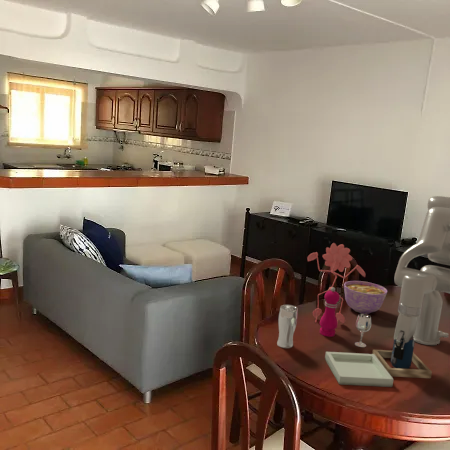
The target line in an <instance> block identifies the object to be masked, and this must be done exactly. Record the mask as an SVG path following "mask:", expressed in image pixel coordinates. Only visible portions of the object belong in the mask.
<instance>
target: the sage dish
mask: <svg viewBox="0 0 450 450" xmlns="http://www.w3.org/2000/svg"><path fill="white" fill-rule="evenodd" d="M324 360H325V362H326V364H327V365H328V367H329V369H330V371H331V373H332V374H333V375H334V378H335V379H336V381H337V383H338V385H344V386H345V385H346V386H347V385H348V386H364V387H365V386H366V387H384V388H385V387H386V388H392V387H393V386H394V385H393V383H394V378H393V376H391V375H390V374H389V373H388V371H387V370H386V369H385V368H384V366H383V365H382V364H381V362H380V361H379V360H378V359H377V357H376V356H375V355H374V354H372V353H360V352H359V353H358V352H357V353H356V352H341V351H339V352H337V351H325V355H324Z"/></svg>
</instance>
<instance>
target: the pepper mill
mask: <svg viewBox="0 0 450 450" xmlns="http://www.w3.org/2000/svg"><path fill="white" fill-rule="evenodd" d="M331 287H332V286H331ZM326 291H327V290H326ZM323 297H324V300H325V302H324V306H325V310H324V314H322V316H321V318H320V320H319V326H320V328H319V334H320V335H322V336H324V337H328V338H331V337H335V335H336V329H337V328H338V325H337V324H339V322H338V323H337V318H336V309H337V308H338V303H339V301H340V299H341V298H340V297H341V295H340V293H338V292H337V291H336V288H335V287H334V286H333V287H332V288H331V291H327V292H325V294H324V296H323Z"/></svg>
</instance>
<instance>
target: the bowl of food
mask: <svg viewBox="0 0 450 450" xmlns="http://www.w3.org/2000/svg"><path fill="white" fill-rule="evenodd" d="M343 290H344V291H343V292H344V299H345V301H346V304H347V306H348V307H350V309H352V310H353V311H354V312H357V313H359V314H366V315H369V314H371V313H374V312H375V313H376V312H377V311H379V310H380V309H381V308H382V306H383V303H384V301H385V298H386V296H387V293H388V289H387V288H385V287H384V286H382V285H380V284H376V283H372V282H368V281H361V280H350V281H345V282H344V284H343Z"/></svg>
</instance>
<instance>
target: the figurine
mask: <svg viewBox="0 0 450 450" xmlns="http://www.w3.org/2000/svg"><path fill="white" fill-rule="evenodd" d="M325 252H326V253H324V254H322V258H323V260H324V265H325V266H326V267H330V268H329V270H327V269H320V264H319V257H318V256H319V253H318V252H317V251H316V252H312V253H310V254H309V255H308V256H307V257H306V258H307V262H311V261H314V260H316V261H317V262H316V263H317V269H318V271H319V272H326V273H331V274H333V275H334V276H335V278H334V280H333V282H332V285H331V286H330V287H328V289H327V290H325V291H323V292H320V293H318V294H317V308H315V309H314V310H313V311H312V316H313V317H314V319H315V321H314V323H315V324H316V323H317V321H318V317H319V316H321V314H322V315H323V314H324V313H325V312H324V313H323V312H322V309H321V308H319V306H320V305H319V299H320V298H319V296H320V295H322V294H324V293H326V292H327V291H331V288H332V287H334V286H335V285H334V284H335V283H336V280H337V278H338V277H340V278H342V279H345V278H347V277H348V276H349V275H350V274H351V273H353V272H354V271H355V270H357V272H358V273H359V274H360V275H361V276H362V277H363V278H366V272H365V271H364V269H363V268H362V267H361V266H360V265H358V264H356V266H355V267H354V268H353V269H351V270H350V272H348V273H347V274H346V275H345V276H343V275H341V274H339V273H337V272H335V271H337V270H338V271H339V272H340V273H343V272H344V271H345V269H349V268H351V263H350V262H351V261H352V260H353V256H352V255H350V252H351V249H350V248H348V247H345V245H344V244H343V243H342V244H339V245H337V244H336V243H335V242H333V243H332V244H331V245H330V247H326V248H325ZM340 299H341V303H340V308H339V312H335V315H336V319H337V323H338V324H339V323H341V324H343V325H344V324H345V322H346V318H345V316H344V314H342V313H341V311H342V307H343V301H344V299H343V297H341V296H340ZM338 324H337V326H338Z"/></svg>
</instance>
